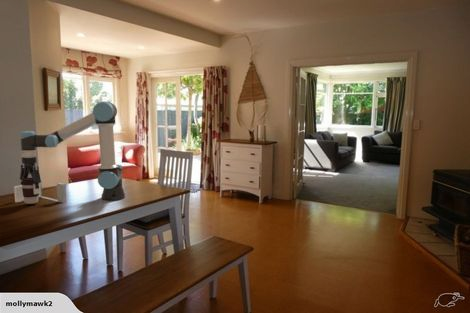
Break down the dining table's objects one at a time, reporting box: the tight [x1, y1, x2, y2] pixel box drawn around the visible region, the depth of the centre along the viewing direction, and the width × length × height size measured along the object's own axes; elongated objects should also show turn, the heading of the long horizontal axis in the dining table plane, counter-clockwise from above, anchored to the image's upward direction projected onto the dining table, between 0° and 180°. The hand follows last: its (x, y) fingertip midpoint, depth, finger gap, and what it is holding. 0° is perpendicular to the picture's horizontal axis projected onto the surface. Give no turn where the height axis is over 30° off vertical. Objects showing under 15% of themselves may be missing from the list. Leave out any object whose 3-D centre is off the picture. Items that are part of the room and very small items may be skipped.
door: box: [13, 180, 43, 203], centre depth 211 cm, size 17×3×10 cm, turn 155°
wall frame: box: [39, 182, 67, 204], centre depth 214 cm, size 2×30×12 cm, turn 64°
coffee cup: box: [20, 177, 39, 205], centre depth 200 cm, size 10×10×15 cm
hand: (31, 192), depth 200 cm, fingers closed on coffee cup, 10 cm apart
